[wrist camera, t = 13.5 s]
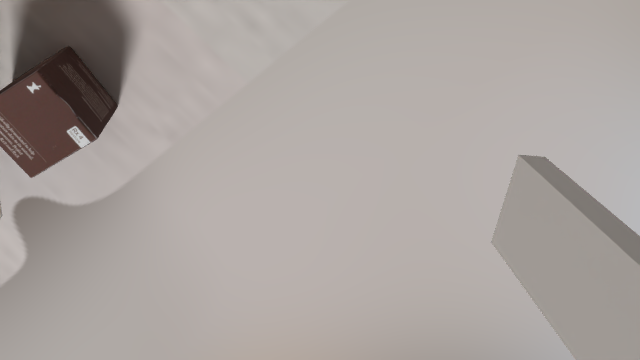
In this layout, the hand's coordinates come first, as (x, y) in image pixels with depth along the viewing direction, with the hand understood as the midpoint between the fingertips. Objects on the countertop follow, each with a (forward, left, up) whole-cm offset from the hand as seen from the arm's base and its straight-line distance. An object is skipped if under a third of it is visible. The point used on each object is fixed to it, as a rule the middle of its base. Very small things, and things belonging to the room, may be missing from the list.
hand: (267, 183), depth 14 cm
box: (+15, +9, -32) cm, 36 cm away
